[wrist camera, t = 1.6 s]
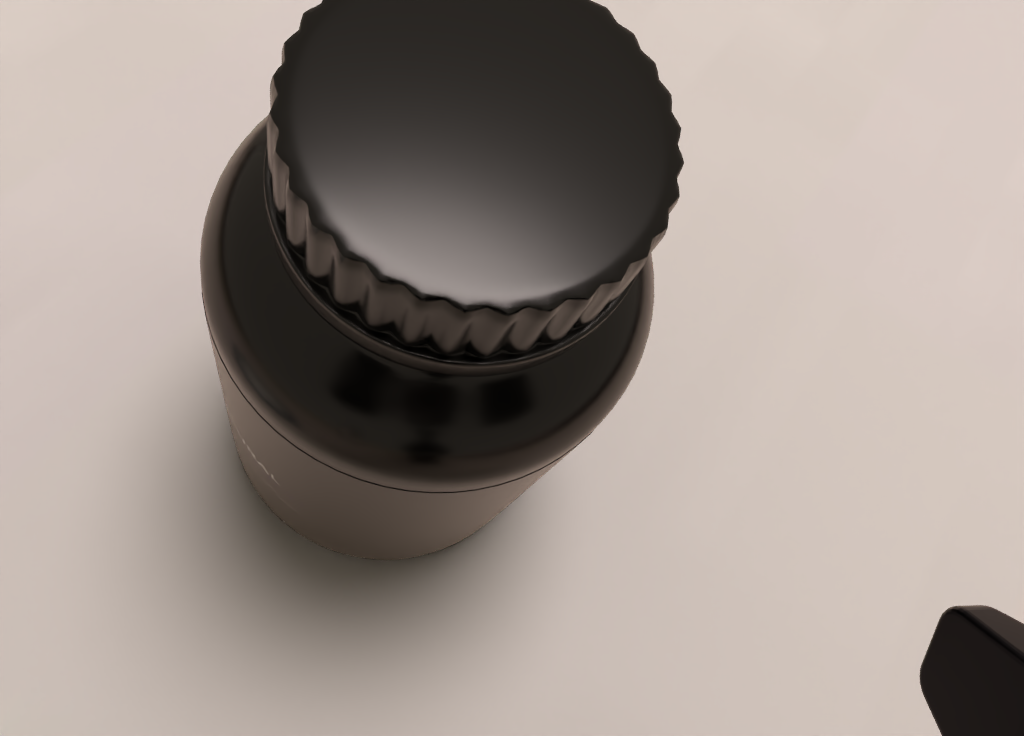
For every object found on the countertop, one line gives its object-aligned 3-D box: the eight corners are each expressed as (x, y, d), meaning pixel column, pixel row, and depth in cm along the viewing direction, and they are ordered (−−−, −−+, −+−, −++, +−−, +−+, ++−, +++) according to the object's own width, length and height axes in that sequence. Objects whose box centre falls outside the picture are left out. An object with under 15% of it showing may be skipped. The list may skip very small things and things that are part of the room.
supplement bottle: (166, 459, 20) (3, 150, 9) (345, 233, 23) (390, -217, 12) (435, 630, 20) (604, 531, 9) (581, 383, 23) (849, 74, 12)
